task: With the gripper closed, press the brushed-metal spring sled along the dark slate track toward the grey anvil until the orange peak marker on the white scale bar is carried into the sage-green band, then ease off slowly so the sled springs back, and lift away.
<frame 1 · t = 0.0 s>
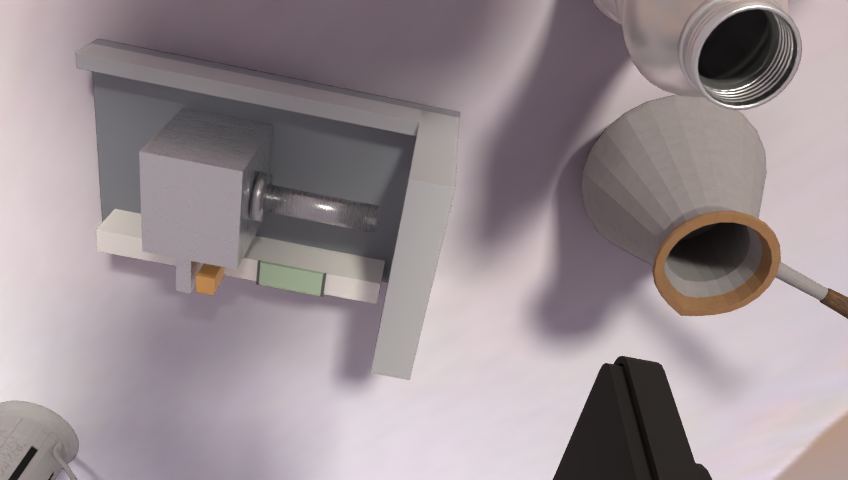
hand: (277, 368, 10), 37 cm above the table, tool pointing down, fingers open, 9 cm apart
coffee pot: (724, 185, 49), on the table
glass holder: (58, 429, 66), on the table
plunger: (268, 224, 47), point 5 cm above the table, slide at 0.0 cm
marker: (210, 276, 48), point 6 cm above the table, slide at 0.0 cm
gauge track: (273, 170, 50), on the table
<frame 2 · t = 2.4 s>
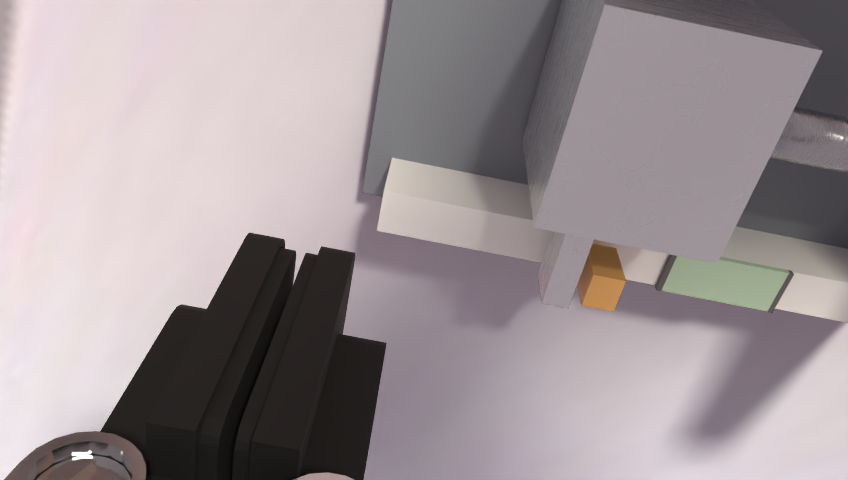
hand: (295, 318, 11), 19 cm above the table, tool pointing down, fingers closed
plunger: (733, 179, 25), point 5 cm above the table, slide at 0.0 cm
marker: (599, 276, 26), point 6 cm above the table, slide at 0.0 cm
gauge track: (687, 86, 28), on the table
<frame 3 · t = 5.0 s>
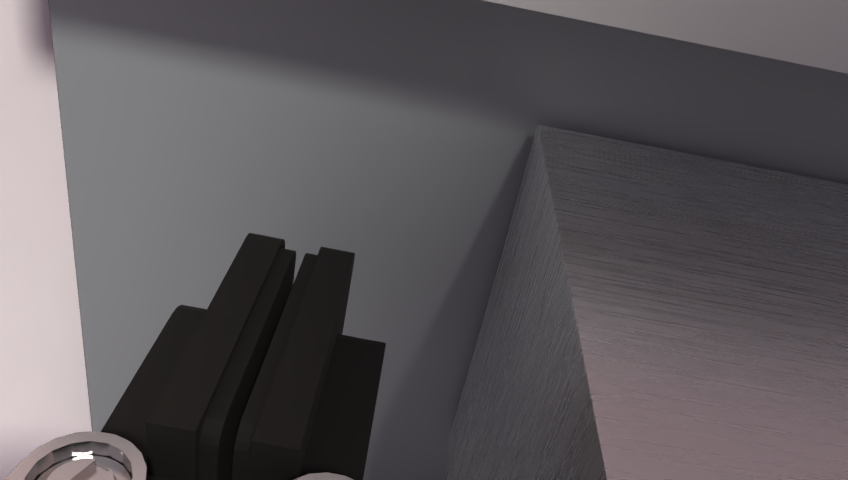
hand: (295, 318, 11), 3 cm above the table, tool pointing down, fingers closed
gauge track: (696, 325, 14), on the table
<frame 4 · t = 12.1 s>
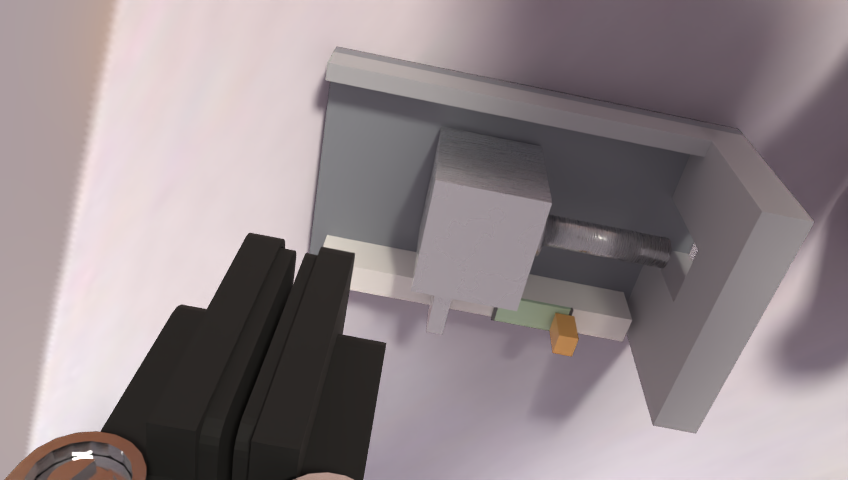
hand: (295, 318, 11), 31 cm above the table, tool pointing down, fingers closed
plunger: (537, 258, 41), point 5 cm above the table, slide at 0.8 cm
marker: (563, 334, 43), point 6 cm above the table, slide at 7.2 cm
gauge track: (510, 192, 45), on the table
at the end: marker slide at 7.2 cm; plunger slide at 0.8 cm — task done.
